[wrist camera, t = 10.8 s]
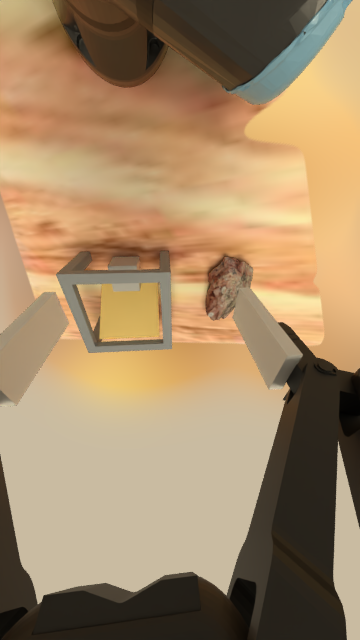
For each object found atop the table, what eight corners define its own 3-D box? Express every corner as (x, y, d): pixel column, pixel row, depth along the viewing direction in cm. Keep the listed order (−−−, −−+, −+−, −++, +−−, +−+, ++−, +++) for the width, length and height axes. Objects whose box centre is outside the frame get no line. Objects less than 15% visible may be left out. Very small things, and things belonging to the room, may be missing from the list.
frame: (80, 251, 42) (55, 274, 32) (168, 250, 44) (170, 272, 34) (102, 321, 54) (88, 352, 44) (170, 318, 56) (171, 349, 46)
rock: (253, 252, 36) (275, 312, 42) (241, 243, 45) (260, 293, 51) (184, 287, 41) (212, 337, 47) (186, 272, 50) (209, 315, 56)
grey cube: (118, 280, 47) (113, 256, 43) (142, 279, 48) (139, 256, 44) (113, 291, 42) (107, 266, 39) (139, 290, 43) (136, 265, 39)
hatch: (103, 284, 48) (101, 283, 47) (157, 283, 48) (157, 282, 48) (100, 339, 44) (99, 338, 44) (159, 336, 45) (159, 336, 44)
